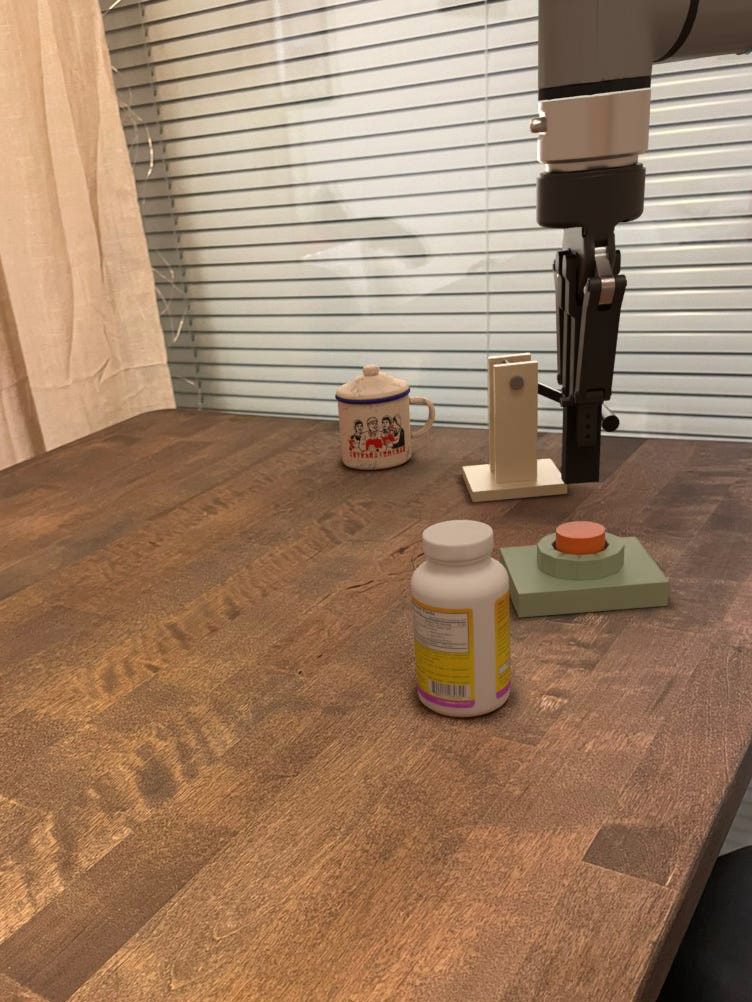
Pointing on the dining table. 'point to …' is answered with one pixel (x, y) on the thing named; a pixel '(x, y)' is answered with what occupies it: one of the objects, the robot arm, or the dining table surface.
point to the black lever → (608, 417)
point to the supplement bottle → (461, 621)
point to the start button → (580, 538)
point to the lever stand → (513, 437)
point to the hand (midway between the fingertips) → (579, 479)
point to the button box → (583, 578)
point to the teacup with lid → (377, 420)
